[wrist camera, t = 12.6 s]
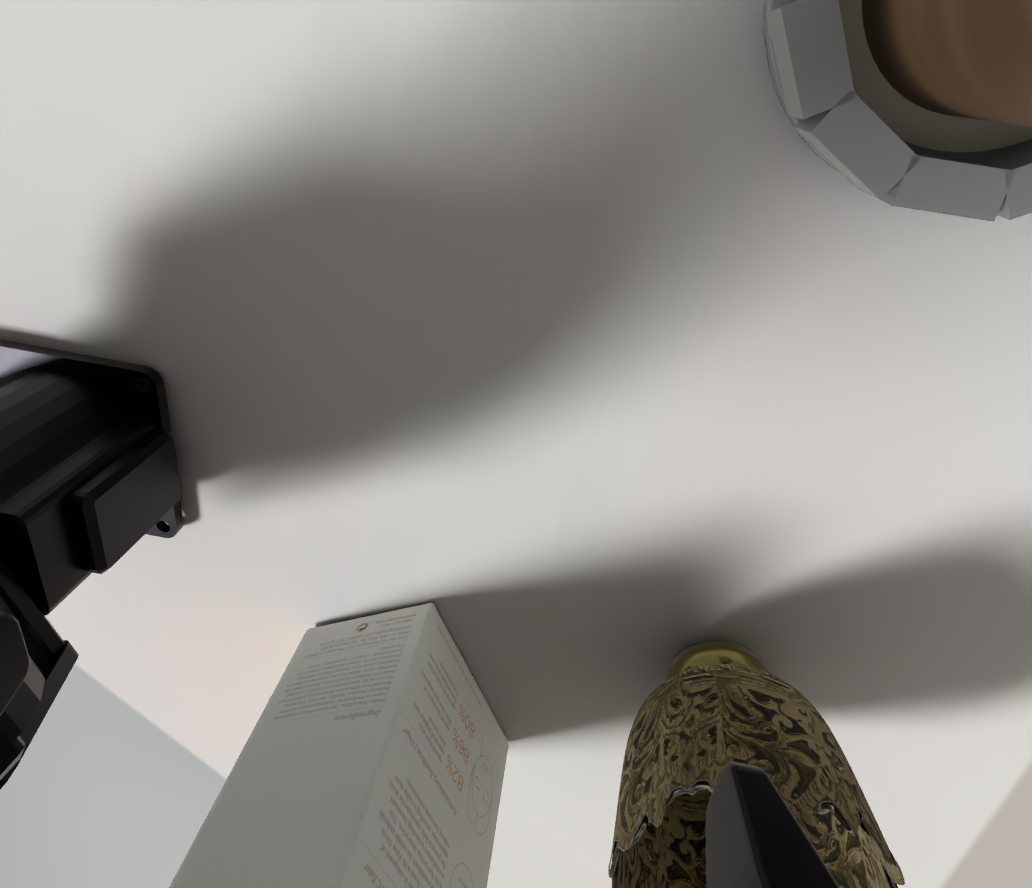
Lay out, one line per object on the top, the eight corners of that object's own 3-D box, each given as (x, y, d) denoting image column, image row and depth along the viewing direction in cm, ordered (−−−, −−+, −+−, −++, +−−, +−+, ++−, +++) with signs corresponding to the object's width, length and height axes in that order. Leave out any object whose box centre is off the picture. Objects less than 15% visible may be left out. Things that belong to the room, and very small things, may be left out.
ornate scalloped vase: (787, 563, 22) (863, 790, 15) (850, 713, 25) (941, 963, 18) (578, 624, 25) (561, 843, 18) (657, 755, 27) (670, 989, 20)
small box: (307, 623, 26) (141, 915, 17) (436, 596, 25) (330, 902, 16) (393, 759, 30) (292, 1065, 21) (513, 743, 28) (461, 1067, 19)
